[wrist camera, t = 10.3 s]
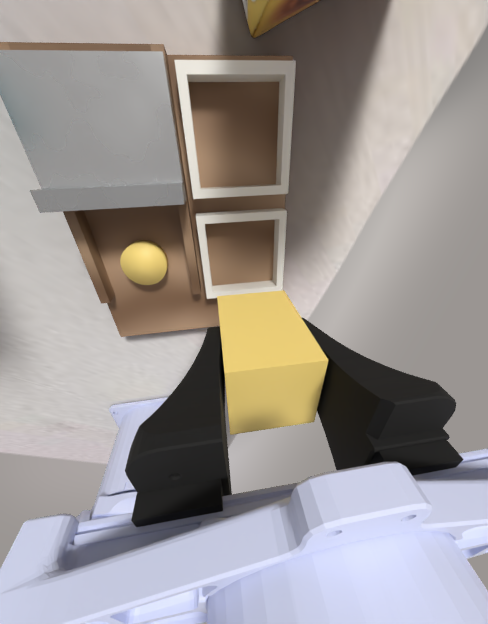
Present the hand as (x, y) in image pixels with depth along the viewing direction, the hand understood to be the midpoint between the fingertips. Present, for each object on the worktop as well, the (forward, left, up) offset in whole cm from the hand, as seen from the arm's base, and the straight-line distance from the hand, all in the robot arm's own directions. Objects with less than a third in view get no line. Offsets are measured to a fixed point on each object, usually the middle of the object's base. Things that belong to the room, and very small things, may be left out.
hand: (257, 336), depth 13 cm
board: (+5, +4, -9) cm, 10 cm away
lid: (+10, +7, -6) cm, 13 cm away
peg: (0, 0, -2) cm, 2 cm away
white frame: (+6, 0, -7) cm, 9 cm away
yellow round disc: (+3, +7, -7) cm, 10 cm away
